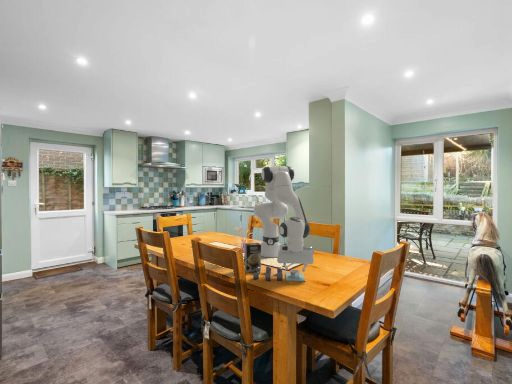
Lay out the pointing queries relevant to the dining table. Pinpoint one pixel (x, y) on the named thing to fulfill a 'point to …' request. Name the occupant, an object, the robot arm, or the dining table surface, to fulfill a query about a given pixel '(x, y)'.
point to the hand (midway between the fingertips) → (294, 271)
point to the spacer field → (268, 273)
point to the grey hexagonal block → (294, 273)
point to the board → (295, 278)
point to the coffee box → (252, 256)
